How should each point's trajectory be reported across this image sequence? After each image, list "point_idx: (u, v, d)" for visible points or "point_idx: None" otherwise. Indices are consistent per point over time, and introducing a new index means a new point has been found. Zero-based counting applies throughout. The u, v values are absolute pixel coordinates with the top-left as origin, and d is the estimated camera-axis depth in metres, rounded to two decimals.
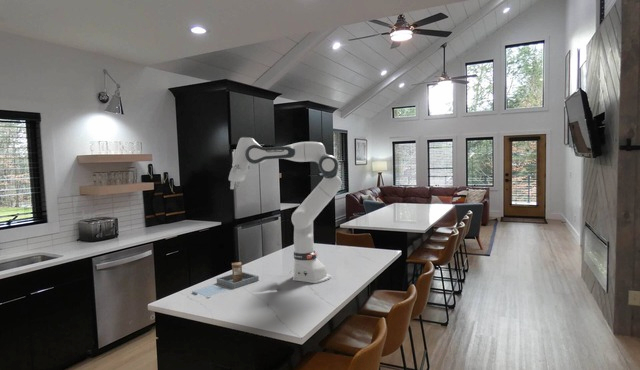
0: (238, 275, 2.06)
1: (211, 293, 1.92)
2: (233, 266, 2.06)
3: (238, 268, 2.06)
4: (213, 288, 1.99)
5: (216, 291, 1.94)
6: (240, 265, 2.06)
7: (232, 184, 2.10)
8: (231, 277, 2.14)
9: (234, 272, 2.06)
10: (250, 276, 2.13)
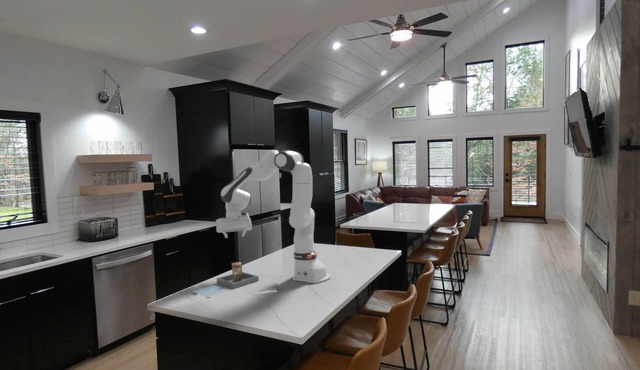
0: (238, 275, 2.06)
1: (211, 293, 1.92)
2: (233, 266, 2.06)
3: (238, 268, 2.06)
4: (213, 288, 1.99)
5: (216, 291, 1.94)
6: (240, 265, 2.06)
7: (223, 233, 2.20)
8: (231, 277, 2.14)
9: (234, 272, 2.06)
10: (250, 276, 2.13)
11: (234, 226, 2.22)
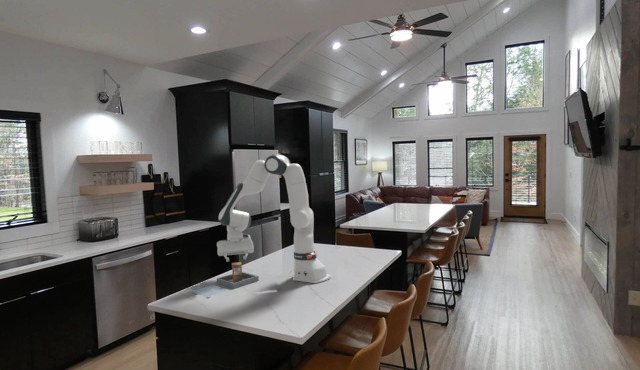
0: (238, 275, 2.06)
1: (211, 293, 1.92)
2: (233, 266, 2.06)
3: (238, 268, 2.06)
4: (213, 288, 1.99)
5: (216, 291, 1.94)
6: (240, 265, 2.06)
7: (225, 256, 2.14)
8: (231, 277, 2.14)
9: (234, 272, 2.06)
10: (250, 276, 2.13)
11: (236, 249, 2.16)
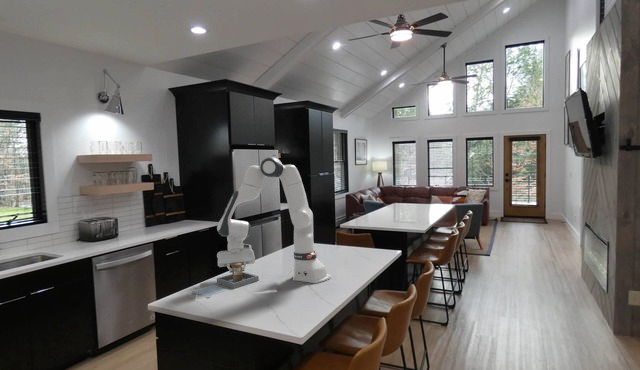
0: (238, 275, 2.06)
1: (211, 293, 1.92)
2: (233, 266, 2.06)
3: (238, 268, 2.06)
4: (213, 288, 1.99)
5: (216, 291, 1.94)
6: (240, 265, 2.06)
7: (228, 267, 2.09)
8: (231, 277, 2.14)
9: (234, 272, 2.06)
10: (250, 276, 2.13)
11: (236, 260, 2.11)
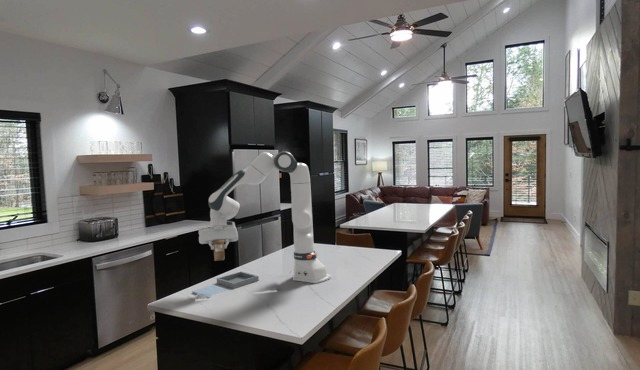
0: (219, 252, 1.99)
1: (211, 293, 1.92)
2: (215, 243, 1.98)
3: (220, 245, 1.98)
4: (213, 288, 1.99)
5: (216, 291, 1.94)
6: (222, 242, 1.99)
7: (209, 244, 2.01)
8: (231, 277, 2.14)
9: (215, 249, 1.98)
10: (250, 276, 2.13)
11: (218, 237, 2.03)
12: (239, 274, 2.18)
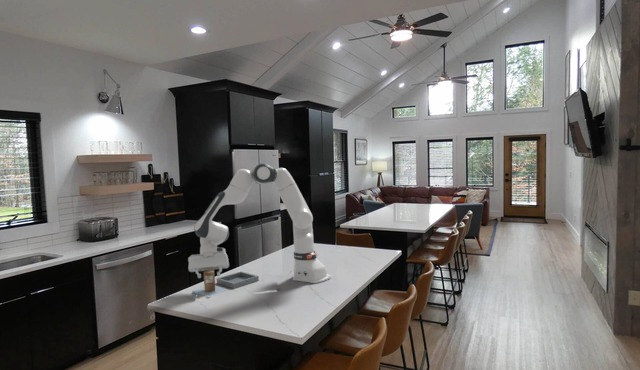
0: (210, 284, 1.94)
1: (211, 293, 1.92)
2: (205, 274, 1.93)
3: (210, 276, 1.94)
4: None
5: (216, 291, 1.94)
6: (212, 273, 1.94)
7: (196, 273, 1.96)
8: (231, 277, 2.14)
9: (205, 280, 1.93)
10: (250, 276, 2.13)
11: (208, 264, 1.98)
12: (239, 274, 2.18)
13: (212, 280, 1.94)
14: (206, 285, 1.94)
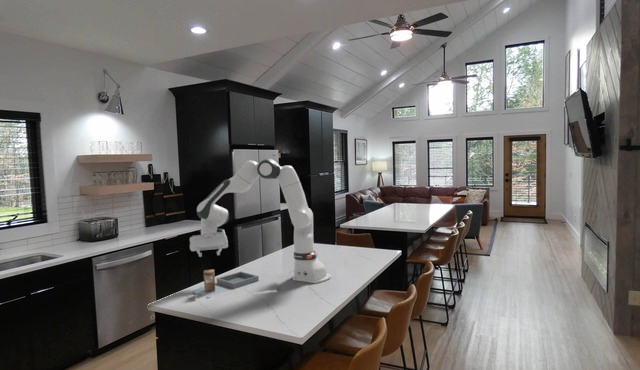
0: (210, 284, 1.94)
1: (211, 293, 1.92)
2: (205, 274, 1.93)
3: (210, 276, 1.94)
4: None
5: (216, 291, 1.94)
6: (212, 273, 1.94)
7: (197, 252, 2.08)
8: (231, 277, 2.14)
9: (205, 280, 1.93)
10: (250, 276, 2.13)
11: (209, 244, 2.10)
12: (239, 274, 2.18)
13: (212, 280, 1.94)
14: (206, 285, 1.94)
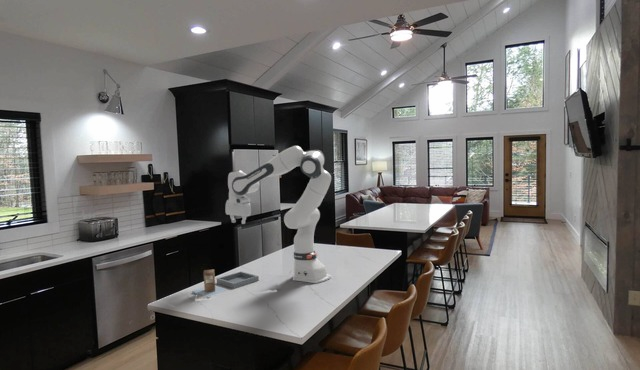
0: (210, 284, 1.94)
1: (211, 293, 1.92)
2: (205, 274, 1.93)
3: (210, 276, 1.94)
4: None
5: (216, 291, 1.94)
6: (212, 273, 1.94)
7: None
8: (231, 277, 2.14)
9: (205, 280, 1.93)
10: (250, 276, 2.13)
11: (235, 213, 2.18)
12: (239, 274, 2.18)
13: (212, 280, 1.94)
14: (206, 285, 1.94)
